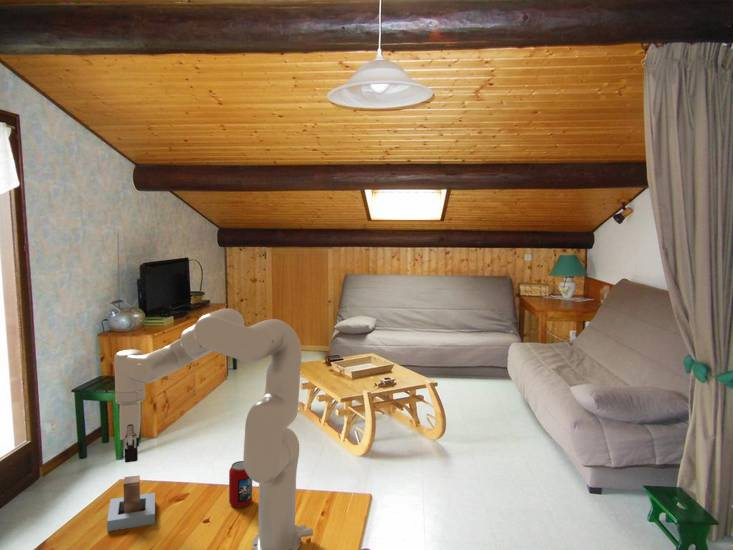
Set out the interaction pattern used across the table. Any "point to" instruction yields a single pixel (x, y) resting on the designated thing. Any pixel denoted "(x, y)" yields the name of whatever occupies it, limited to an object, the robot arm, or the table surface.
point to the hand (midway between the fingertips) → (132, 454)
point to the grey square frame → (133, 518)
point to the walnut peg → (131, 494)
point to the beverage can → (239, 485)
